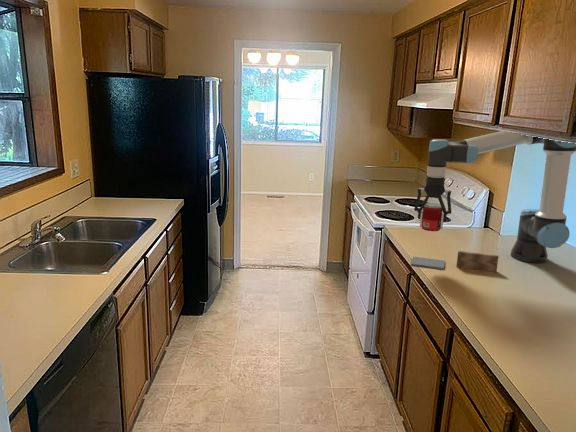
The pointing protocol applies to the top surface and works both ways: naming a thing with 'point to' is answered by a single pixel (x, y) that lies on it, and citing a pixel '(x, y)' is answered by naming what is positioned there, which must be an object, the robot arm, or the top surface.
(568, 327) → the top surface
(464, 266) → the walnut screen
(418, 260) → the slate mat
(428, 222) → the canned food
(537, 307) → the top surface
